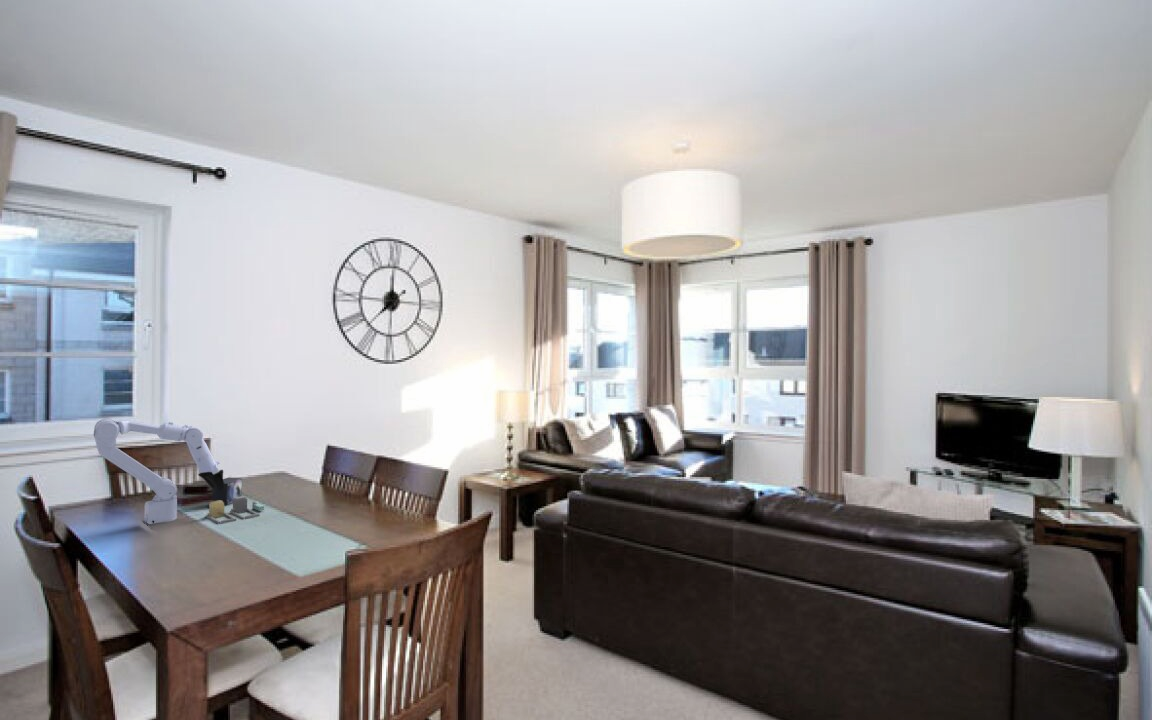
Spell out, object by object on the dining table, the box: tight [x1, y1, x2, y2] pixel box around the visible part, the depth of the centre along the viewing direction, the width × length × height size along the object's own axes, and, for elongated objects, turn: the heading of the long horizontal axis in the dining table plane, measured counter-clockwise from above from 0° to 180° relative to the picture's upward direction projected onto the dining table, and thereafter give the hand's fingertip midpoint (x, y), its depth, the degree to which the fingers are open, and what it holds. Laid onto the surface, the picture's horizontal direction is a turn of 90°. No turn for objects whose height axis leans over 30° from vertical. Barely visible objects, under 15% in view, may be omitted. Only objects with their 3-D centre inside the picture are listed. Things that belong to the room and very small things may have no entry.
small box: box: [211, 476, 243, 507], centre depth 238 cm, size 11×6×10 cm, turn 179°
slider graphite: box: [232, 495, 248, 514], centre depth 224 cm, size 4×3×6 cm
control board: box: [205, 507, 261, 525], centre depth 219 cm, size 22×16×2 cm
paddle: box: [251, 501, 265, 512], centre depth 226 cm, size 2×7×3 cm, turn 49°
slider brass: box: [208, 500, 225, 519], centre depth 218 cm, size 4×3×6 cm
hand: (218, 487), depth 224 cm, fingers open, 7 cm apart
